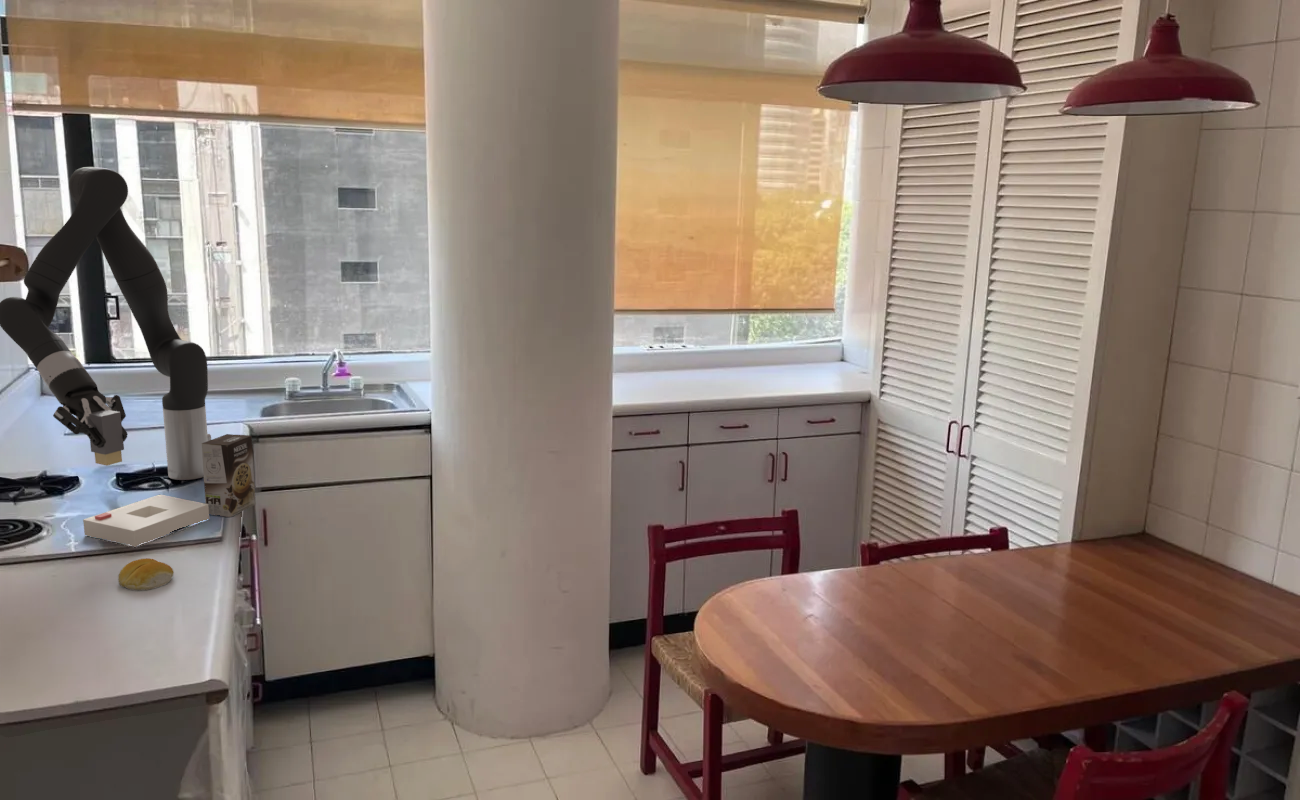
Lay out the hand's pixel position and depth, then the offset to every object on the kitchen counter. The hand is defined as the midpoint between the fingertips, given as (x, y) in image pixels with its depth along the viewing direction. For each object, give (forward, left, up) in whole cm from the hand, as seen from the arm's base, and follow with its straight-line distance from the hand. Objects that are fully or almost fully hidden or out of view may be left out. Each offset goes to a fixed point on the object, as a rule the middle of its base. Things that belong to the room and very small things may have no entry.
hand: (113, 442), depth 191 cm
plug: (0, -2, -5) cm, 5 cm away
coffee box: (-17, +13, -18) cm, 28 cm away
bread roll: (+18, +29, -18) cm, 39 cm away
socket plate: (-1, +7, -18) cm, 19 cm away
